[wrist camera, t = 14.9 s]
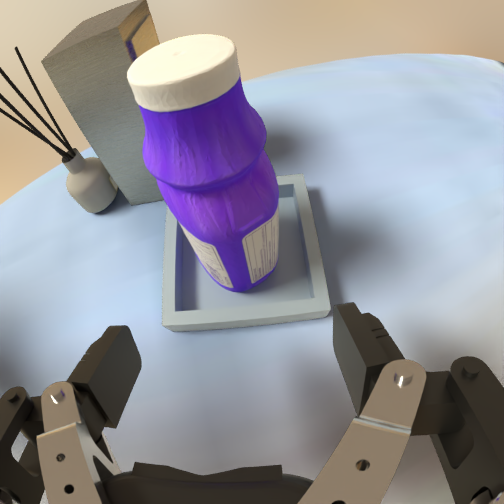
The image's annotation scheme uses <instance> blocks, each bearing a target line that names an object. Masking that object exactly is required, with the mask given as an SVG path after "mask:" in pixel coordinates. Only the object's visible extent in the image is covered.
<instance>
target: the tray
mask: <svg viewBox="0 0 504 504" xmlns="http://www.w3.org/2000/svg"><path fill="white" fill-rule="evenodd" d="M276 178H277V183H278V188H279V238H278V262H277V265H276V268H275V269H274V271H273V272H272V273H271V274H270V275H269V276H268V278H267V279H266V280H264V281H263V282H261V283H260V284H258V285H257V286H255V287H253V288H251V289H249V290H246V291H243V292H232V291H229V290H226V289H225V288H223V287H221V286H220V285H219V284H217V283H216V282H215V281H214V280H213V279H212V278H211V277H210V275H209V274H208V273H207V272H206V271H205V269H204V268H203V266H202V265H201V263H200V262H199V260H198V258H197V256H196V254H195V252H194V249H193V247H192V246H191V244H190V242H189V240H188V238H187V237H186V235H185V233H184V231H183V229H182V227H181V225H180V224H179V222H178V220H177V219H176V218H175V216H174V215H173V213H172V212H171V211H170V209H169V207H168V206H167V212H166V225H165V241H164V259H163V287H162V326H164V327H165V328H167V329H169V330H171V331H173V332H182V331H199V330H214V329H227V328H239V327H250V326H260V325H270V324H279V323H287V322H295V321H303V320H311V319H318V318H325V317H326V316H327V315H328V313H329V312H330V310H331V307H330V301H329V295H328V289H327V284H326V278H325V273H324V267H323V262H322V257H321V252H320V247H319V242H318V237H317V232H316V228H315V223H314V218H313V214H312V209H311V205H310V201H309V196H308V192H307V188H306V184H305V179H304V175H303V174H296V175H285V176H276Z"/></svg>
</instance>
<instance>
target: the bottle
mask: <svg viewBox="0 0 504 504" xmlns="http://www.w3.org/2000/svg"><path fill="white" fill-rule="evenodd" d="M127 78H128V82H129V84H130V86H131V88H132V91H133V94H134V96H135V100H136V102H137V103H138V105H139V108H140V111H141V114H142V117H143V120H144V124H145V137H144V141H143V159H144V163H145V165H146V168H147V169H148V170H149V172H150V173H151V174H152V175H153V176H154V177H155V178H156V180H157V184H158V187H159V190H160V192H161V194H162V196H163V198H164V200H165V202H166V204H167V206H168V207H169V209H170V211H171V212H172V213H173V215H174V216H175V218H176V219H177V220H178V222H179V224H180V225H181V227H182V229H183V231H184V233H185V235H186V237H187V238H188V240H189V242H190V244H191V246H192V247H193V249H194V252H195V254H196V256H197V258H198V260H199V262H200V263H201V265H202V266H203V268H204V269H205V271H206V272H207V273H208V274H209V275H210V277H211V278H212V279H213V280H214V281H215V282H216V283H217V284H219V285H220V286H221V287H223V288H225V289H226V290H229V291H232V292H243V291H246V290H249V289H251V288H253V287H255V286H257V285H258V284H260V283H261V282H263V281H264V280H266V279H267V278H268V276H269V275H270V274H271V273H272V272H273V271H274V269H275V268H276V265H277V262H278V238H279V188H278V183H277V178H276V175H275V172H274V170H273V167H272V165H271V162H270V160H269V158H268V156H267V154H266V152H265V151H264V149H263V148H264V145H265V142H266V133H267V132H266V128H265V125H264V123H263V121H262V119H261V117H260V116H259V114H258V113H257V112H256V110H255V109H254V108H252V107H251V106H250V104H249V103H248V101H247V99H246V97H245V95H244V92H243V88H242V83H241V78H240V70H239V66H238V59H237V50H236V46H235V44H234V42H232V41H231V40H230V39H228V38H226V37H223V36H219V35H210V34H200V35H190V36H184V37H180V38H176V39H173V40H170V41H167V42H164V43H162V44H160V45H157V46H155V47H153V48H152V49H150V50H148V51H147V52H145V53H144V54H142V55H141V56H140V57H138V58H137V59H136V60H135V61H134V62H133V64H132V65H131V66H130V68H129V69H128V72H127Z"/></svg>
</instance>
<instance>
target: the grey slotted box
mask: <svg viewBox="0 0 504 504" xmlns="http://www.w3.org/2000/svg"><path fill="white" fill-rule="evenodd" d="M157 45H160V43H159V40H158V37H157V33H156V30H155V26H154V23H153V20H152V16H151V13H150V11H149V7H148V4H147V1H146V0H137V1H134V2H131V3H129V4H125V5H122V6H120V7H117V8H114V9H111V10H109V11H107V12H104V13H102V14H99V15H97V16H94V17H92V18H90V19H87V20H85V21H83V22H82V23H80V24H79V25H78V26H77V27H76V28H75V29H74V30H72V31H71V32H70V33H69V34H68V35H67V36H66V37H65V38H64V39H63V40H62V41H61V42H60V43H59V44H58V45H57V46H56V47H55V48H54V49H53V50H52V51H51V52H50V53H49V54H48V55H47V56H46V57H45V58H44V59H43V60H42V61H41V62H42V64H43V66H44V68H45V70H46V72H47V73H48V75H49V77H50V79H51V81H52V82H53V84H54V86H55V88H56V89H57V91H58V93H59V95H60V96H61V98H62V100H63V101H64V103H65V105H66V107H67V108H68V110H69V112H70V113H71V115H72V116H73V118H74V120H75V121H76V123H77V125H78V126H79V128H80V129H81V131H82V132H83V134H84V136H85V137H86V139H87V140H88V142H89V144H90V145H91V147H92V148H93V150H94V151H95V153H96V154H97V156H98V157H99V159H100V160H101V162H102V163H103V165H104V166H105V168H106V169H107V171H108V172H109V174H110V175H111V177H112V178H113V180H114V181H115V183H116V184H117V185H118V187H119V188H120V190H121V191H122V193H123V194H124V195H125V197H126V198H127V200H128V201H129V203H130V204H131V205H137V204H143V203H149V202H154V201H160V200H164V198H163V196H162V194H161V192H160V190H159V187H158V184H157V180H156V178H155V177H154V176H153V175H152V174H151V173H150V172H149V170H148V169H147V168H146V165H145V163H144V159H143V141H144V137H145V124H144V120H143V117H142V114H141V111H140V108H139V105H138V103H137V102H136V100H135V96H134V94H133V91H132V88H131V86H130V84H129V82H128V78H127V72H128V69H129V68H130V66H131V65H132V64H133V62H134V61H135V60H136V59H137V58H138V57H140V56H141V55H142V54H144V53H145V52H147V51H148V50H150V49H152V48H153V47H155V46H157Z"/></svg>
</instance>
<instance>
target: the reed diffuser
mask: <svg viewBox="0 0 504 504" xmlns="http://www.w3.org/2000/svg"><path fill="white" fill-rule="evenodd" d="M15 50H16V53H17V55H18V57H19V59H20V61H21V63H22V65H23V67H24V69H25V71H26V73H27V75H28V77H29V79H30V81H31V83H32V85H33V87H34V89H35V91H36V92H37V94H38V96H39V98H40V100H41V102H42V104H43V105H44V107H45V109H46V111H47V113H48V114H49V116H50V118H51V119H52V121H53V123H54V125H55V126H56V128H57V130H58V131H59V133H60V134H61V136H62V137H63V139H64V141H65V142H64V141H63V140H62V139H61V138H60V136H59V135H58V134H57V133H56V132H55V131H54V130H53V129H52V128H51V127H50V125H49V124H48V123H47V122H46V121H45V120H44V119H43V117H42V116H41V115H40V114H39V113H38V112H37V111H36V110H35V108H34V107H33V106H32V105H31V104H30V103H29V101H28V100H27V99H26V98H25V97H24V95H23V94H22V93H21V92H20V91H19V90H18V88H17V87H16V86H15V85H14V84H13V82H12V81H11V80H10V79H9V77H8V76H7V75H6V74H5V72H4V71H3V70H2V69H1V67H0V73H1V74H2V76H3V77H4V78H5V79H6V81H7V82H8V83H9V84H10V85H11V86H12V88H13V89H14V90H15V91H16V93H18V95H19V96H20V97H21V98H22V99H23V101H24V102H25V103H26V104H27V105H28V107H29V108H30V109H31V110H32V111H33V112H34V113H35V114H36V116H37V117H38V118H39V119H40V120H41V121H42V122H43V123H44V125H45V126H46V127H47V128H48V129H49V130H50V131H51V132H52V133H53V134H54V135H55V136H56V138H58V140H59V141H60V142H61V143H62V144H63V145H64V146H65V147H66V148H67V149H68V150H69V151H68V152H65V151H63V150H62V149H60V148H59V147H57V146H56V145H54V144H53V143H51V142H50V141H49V140H48V139H47V138H46V137H45V136H44V135H43V134H42V133H41V132H40V131H38V130H37V129H36V128H35V127H34V126H33V125H32V124H31V123H30V122H29V121H28V120H27V119H26V118H25V117H23V115H22V114H21V113H19V111H18V110H17V109H15V107H14V106H13V105H12V104H10V102H9V101H8V100H7V99H5V98H4V97H3V96H2V95H1V93H0V99H1V100H2V101H3V102H4V103H5V104H6V105H7V106H8V107H9V108H10V109H12V111H13V112H15V114H17V115H18V116H19V117H20V118H21V119H22V120H23V121H24V122H25V123H26V124H27V125H28V126H29V127H30V128H31V129H30V128H29V127H27V126H26V125H24V124H23V123H21V122H20V121H19V120H17V119H16V118H14V117H12V116H11V115H10V114H8V113H7V112H5V111H4V110H2V109H1V108H0V112H1V113H3V114H4V115H6V116H7V117H9V118H10V119H12V120H13V121H15V122H16V123H18V124H19V125H21V126H22V127H24V128H25V129H27V130H28V131H29V132H31V133H32V134H34V135H35V136H37V137H38V138H40V139H41V140H43V141H44V142H46V143H47V144H49V145H50V146H51V147H52V148H53V149H55V150H56V151H57V152H58V153H59V154H60V155H61V156H62V157H63V158H62V162H63V164H64V165H65V166H66V168H67V169H68V170H69V174H68V177H67V181H66V187H67V190H68V192H69V193H70V195H71V196H72V197H73V198H74V199H75V200H76V201H77V202H78V203H79V204H80V205H81V206H82V207H83V208H84V209H85V210H86V211H87V212H90V213H96V212H100V211H102V210H104V209H105V208H106V207H108V206H109V205H110V204H111V203H112V201H113V200H114V198H115V196H116V194H117V189H118V185H117V184H116V183H115V181H114V180H113V178H112V177H111V175H110V174H109V172H108V171H107V169H106V168H105V166H104V165H103V163H102V162H101V160H100V159H99V158H94V157H90V158H86V159H84V158H83V157H82V156H81V154H80V153H79V152H78V150H77V149H76V148H74V149H72V147H71V146H70V144H69V142H68V141H67V139H66V138H65V136H64V135H63V133H62V131H61V129H60V128H59V126H58V124H57V123H56V121H55V119H54V117H53V116H52V114H51V112H50V111H49V108H48V107H47V105H46V103H45V101H44V99H43V98H42V96H41V94H40V92H39V90H38V88H37V86H36V84H35V83H34V81H33V79H32V77H31V75H30V73H29V71H28V69H27V67H26V65H25V63H24V61H23V58H22V56H21V54H20V52H19V50H18V48H17V47H15ZM32 129H33V130H34V131H33V130H32Z"/></svg>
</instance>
